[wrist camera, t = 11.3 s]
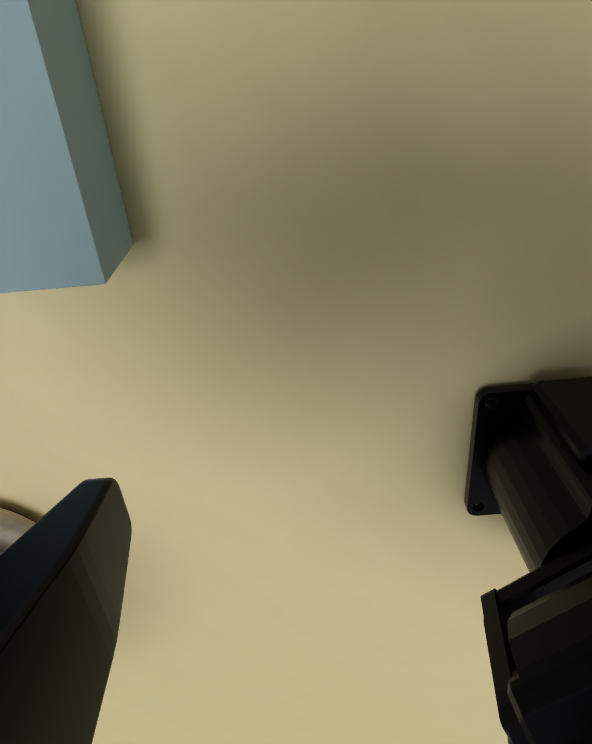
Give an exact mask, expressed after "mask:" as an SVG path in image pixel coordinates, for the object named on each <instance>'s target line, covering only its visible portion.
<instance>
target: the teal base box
mask: <svg viewBox="0 0 592 744" xmlns="http://www.w3.org/2000/svg"><path fill="white" fill-rule="evenodd" d="M132 245H133V240H132V236H131V231H130V227H129V223H128V219H127V215H126V210H125V206H124V202H123V198H122V194H121V189H120V185H119V181H118V177H117V173H116V168H115V164H114V160H113V156H112V152H111V147H110V143H109V139H108V135H107V131H106V126H105V122H104V118H103V114H102V110H101V105H100V101H99V97H98V93H97V89H96V84H95V80H94V76H93V72H92V68H91V63H90V59H89V55H88V51H87V47H86V42H85V38H84V34H83V30H82V26H81V21H80V17H79V13H78V9H77V4H76V0H0V293H7V292H19V291H30V290H42V289H53V288H65V287H77V286H88V285H100V284H106V283H107V281H108V280H109V278H110V277H111V275H112V274H113V272H114V271H115V270H116V268H117V267H118V265H119V264H120V262H121V261H122V259H123V258H124V257H125V255H126V254H127V252H128V251H129V249H130V248H131V246H132Z"/></svg>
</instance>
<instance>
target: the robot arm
mask: <svg viewBox="0 0 592 744" xmlns="http://www.w3.org/2000/svg"><path fill="white" fill-rule="evenodd" d="M491 398H494V400H493V401H492V402H490V403H485V402H486V401H487V400H488V399H491ZM464 502H465V506H466V509H467V511H468V512H469V513H470V514H471V515H476V516H479V515H491V514H502V515H503V517H504V519H505V522H506V524H507V526H508V528H509V530H510V532H511V534H512V536H513V538H514V540H515V543H516V545H517V547H518V549H519V551H520V553H521V555H522V557H523V559H524V562H525V564H526V566H527V568H528V570H529V572H530V573H528V574H526V575H524V576H522V577H521V578H519V579H517V580H515V581H513V582H512V583H510V584H508V585H506V586H504V587H502V588H501V589H499V590H496V589H493V590H491V591H489V592H487V593H485V594H484V595H482V596H481V602H482V609H483V615H484V627H485V633H486V639H487V645H488V651H489V657H490V663H491V669H492V675H493V681H494V688H495V694H496V700H497V706H498V712H499V718H500V722H501V724H502V727H503V729H504V731H505V732H506V734H507V736H508V744H592V377H585V378H573V379H561V380H550V381H540V382H537V383H530V384H519V385H507V386H496V387H488V388H484V389H482V390H481V391H479V392H478V394H477V395H476V398H475V405H474V415H473V424H472V434H471V444H470V453H469V463H468V472H467V482H466V492H465V501H464ZM477 503H479V504H477ZM475 504H477V505H475ZM131 531H132V529H131V520H130V517H129V514H128V511H127V508H126V505H125V502H124V499H123V496H122V493H121V490H120V487H119V485H118V483H117V481H116V480H115V479H113V478H98V479H88V480H85V481H83V482H81V483H80V484H79V485H78V486H77V487H76V488H74V489H73V490H72V491H71V492H70V493H69V494H68V495H67V496H65V497H64V498H63V499H62V500H61V501H60V502H59V503H58V504H56V505H55V506H54V507H53V508H52V509H51V510H50V511H49V512H47V513H46V514H45V515H44V516H43V517H42V518H41V519H40V520H38V521H37V522H36V523H35V524H34V525H33V526H32V527H31V528H29V529H28V530H27V531H26V532H25V533H24V534H23V535H22V536H21V537H19V538H18V539H17V540H16V541H15V542H14V543H13V544H12V545H10V546H9V547H8V548H7V549H6V550H5V551H4V552H3V553H1V554H0V744H92V741H93V737H94V732H95V728H96V724H97V720H98V716H99V712H100V708H101V704H102V700H103V696H104V692H105V688H106V684H107V680H108V676H109V672H110V668H111V664H112V660H113V656H114V651H115V647H116V642H117V636H118V630H119V624H120V616H121V609H122V601H123V594H124V587H125V579H126V572H127V564H128V557H129V550H130V542H131Z"/></svg>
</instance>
